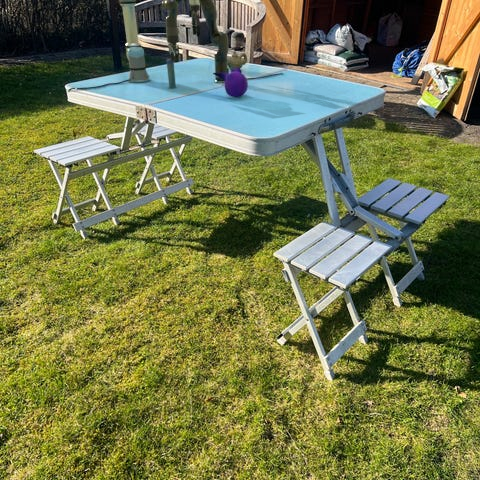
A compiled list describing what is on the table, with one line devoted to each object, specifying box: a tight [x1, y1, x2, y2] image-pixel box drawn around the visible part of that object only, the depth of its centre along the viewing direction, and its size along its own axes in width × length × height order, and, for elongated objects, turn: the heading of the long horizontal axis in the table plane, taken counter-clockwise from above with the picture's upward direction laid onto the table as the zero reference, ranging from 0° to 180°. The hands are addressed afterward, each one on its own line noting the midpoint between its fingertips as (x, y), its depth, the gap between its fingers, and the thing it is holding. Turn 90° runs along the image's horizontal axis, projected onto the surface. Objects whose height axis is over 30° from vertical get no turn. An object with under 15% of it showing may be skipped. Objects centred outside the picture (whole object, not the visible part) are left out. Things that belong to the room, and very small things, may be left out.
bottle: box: [166, 62, 177, 89], centre depth 313 cm, size 5×5×18 cm
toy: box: [212, 68, 249, 99], centre depth 288 cm, size 16×18×27 cm
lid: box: [165, 58, 175, 64], centre depth 308 cm, size 5×5×2 cm
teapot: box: [227, 50, 248, 71], centre depth 366 cm, size 21×12×15 cm, turn 120°
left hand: (196, 35), depth 349 cm, fingers open, 13 cm apart
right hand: (174, 61), depth 294 cm, fingers open, 8 cm apart
